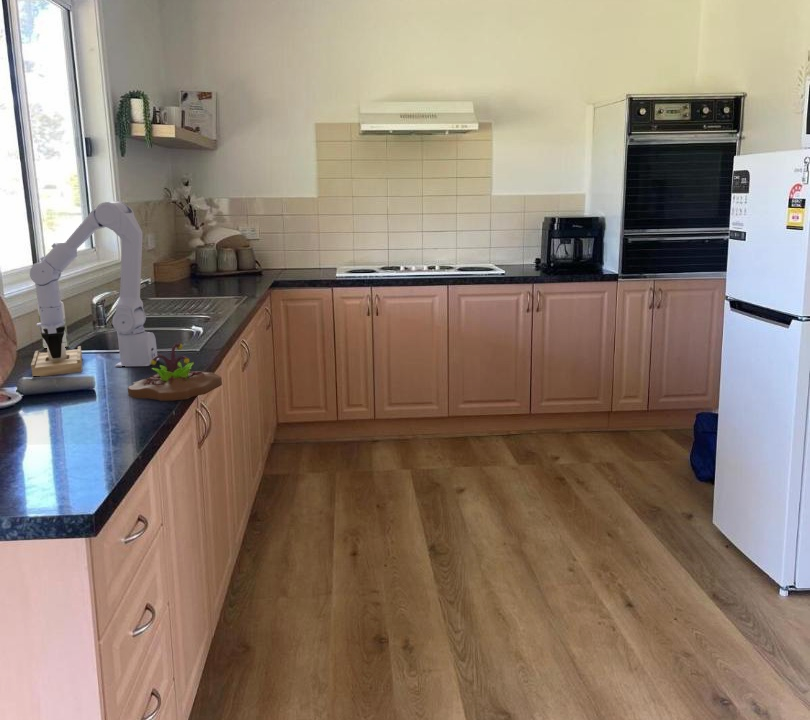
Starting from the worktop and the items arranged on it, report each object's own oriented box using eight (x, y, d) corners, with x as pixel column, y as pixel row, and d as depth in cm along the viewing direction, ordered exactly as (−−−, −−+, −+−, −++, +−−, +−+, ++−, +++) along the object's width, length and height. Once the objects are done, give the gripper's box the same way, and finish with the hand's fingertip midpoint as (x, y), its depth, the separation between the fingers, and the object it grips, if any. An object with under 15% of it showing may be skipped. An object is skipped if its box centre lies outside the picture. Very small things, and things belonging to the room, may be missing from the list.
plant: (236, 383, 189) (232, 338, 187) (181, 404, 172) (176, 356, 170) (174, 377, 198) (169, 334, 195) (116, 397, 181) (110, 350, 178)
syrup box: (60, 345, 244) (54, 299, 240) (69, 347, 240) (63, 301, 237) (42, 348, 239) (36, 302, 236) (52, 350, 236) (45, 303, 232)
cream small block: (71, 364, 215) (68, 343, 214) (61, 368, 210) (58, 346, 209) (56, 364, 216) (53, 343, 214) (46, 368, 211) (43, 346, 210)
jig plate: (81, 371, 206) (80, 359, 205) (32, 377, 202) (30, 365, 201) (82, 357, 224) (80, 346, 224) (37, 362, 220) (35, 351, 219)
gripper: (35, 304, 214) (42, 351, 217) (32, 311, 201) (39, 362, 204) (62, 302, 217) (69, 349, 220) (61, 309, 204) (68, 358, 207)
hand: (57, 355), depth 212 cm, fingers open, 7 cm apart
